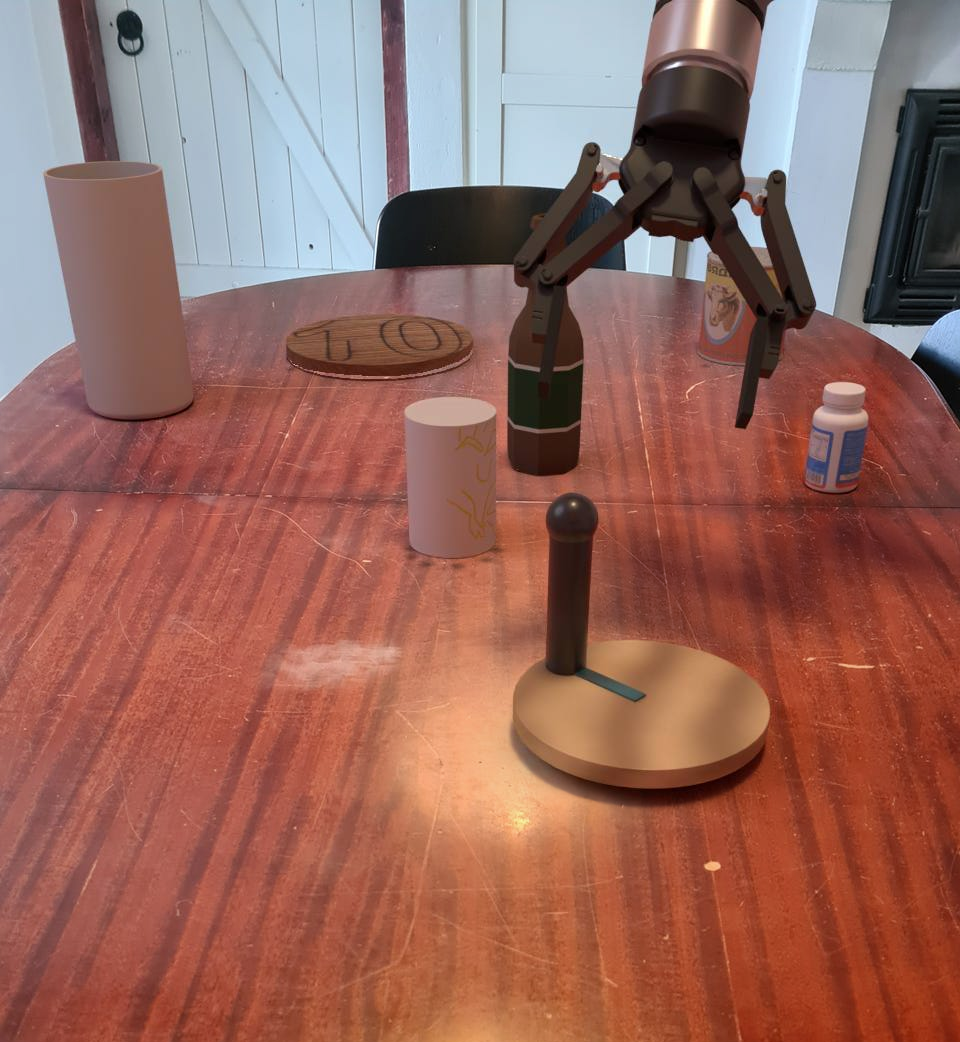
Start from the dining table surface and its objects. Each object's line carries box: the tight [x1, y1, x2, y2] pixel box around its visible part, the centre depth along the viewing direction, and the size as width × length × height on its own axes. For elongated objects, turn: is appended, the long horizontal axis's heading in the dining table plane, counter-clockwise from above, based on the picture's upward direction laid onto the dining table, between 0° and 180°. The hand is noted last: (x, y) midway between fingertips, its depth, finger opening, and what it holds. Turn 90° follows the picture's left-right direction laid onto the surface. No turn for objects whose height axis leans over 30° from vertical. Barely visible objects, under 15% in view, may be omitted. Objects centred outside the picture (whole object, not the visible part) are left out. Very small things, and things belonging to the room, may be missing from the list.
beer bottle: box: [506, 212, 585, 476], centre depth 125 cm, size 8×8×24 cm
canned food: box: [697, 246, 787, 367], centre depth 161 cm, size 11×11×12 cm
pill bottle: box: [804, 381, 869, 494], centre depth 124 cm, size 6×5×10 cm
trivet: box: [285, 313, 474, 382], centre depth 165 cm, size 25×25×2 cm
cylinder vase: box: [42, 160, 195, 421], centre depth 141 cm, size 12×12×25 cm
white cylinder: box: [403, 396, 497, 559], centre depth 112 cm, size 8×8×12 cm
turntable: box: [512, 492, 771, 790], centre depth 83 cm, size 18×18×14 cm
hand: (642, 406), depth 83 cm, fingers open, 13 cm apart
